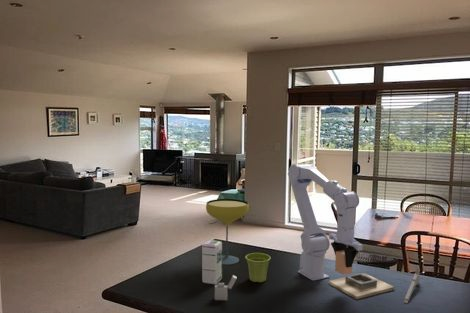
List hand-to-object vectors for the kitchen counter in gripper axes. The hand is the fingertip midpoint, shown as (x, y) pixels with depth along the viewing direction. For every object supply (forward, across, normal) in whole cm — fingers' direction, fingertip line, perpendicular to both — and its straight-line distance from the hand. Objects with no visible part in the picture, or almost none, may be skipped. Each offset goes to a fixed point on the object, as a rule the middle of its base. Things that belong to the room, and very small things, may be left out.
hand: (344, 264), depth 128 cm
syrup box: (+10, -26, -39) cm, 48 cm away
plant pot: (+10, -21, -23) cm, 32 cm away
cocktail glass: (+10, -44, -25) cm, 51 cm away
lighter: (+10, -11, -41) cm, 43 cm away
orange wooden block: (+2, 0, 0) cm, 3 cm away
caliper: (+10, +11, +21) cm, 26 cm away
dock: (+9, 0, +8) cm, 13 cm away
